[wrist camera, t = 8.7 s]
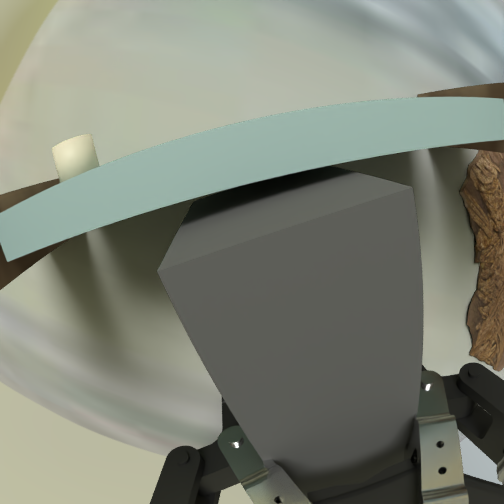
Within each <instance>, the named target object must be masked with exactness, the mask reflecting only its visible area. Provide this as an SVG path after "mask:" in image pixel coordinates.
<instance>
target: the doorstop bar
mask: <svg viewBox="0 0 504 504" xmlns="http://www.w3.org/2000/svg"><path fill="white" fill-rule="evenodd" d="M157 272H158V275H159V277H160V279H161V281H162V283H163V285H164V287H165V290H166V292H167V294H168V296H169V298H170V300H171V302H172V304H173V306H174V308H175V310H176V312H177V314H178V316H179V318H180V320H181V322H182V324H183V326H184V328H185V330H186V332H187V334H188V336H189V338H190V340H191V342H192V343H193V345H194V347H195V349H196V351H197V353H198V355H199V356H200V358H201V360H202V362H203V364H204V366H205V367H206V369H207V371H208V373H209V375H210V376H211V378H212V380H213V382H214V383H215V385H216V387H217V388H218V390H219V392H220V394H221V395H222V397H223V399H224V400H225V402H226V404H227V405H228V407H229V409H230V410H231V412H232V414H233V415H234V417H235V419H236V420H237V422H238V423H239V425H240V427H241V428H242V430H243V431H244V433H245V434H246V436H247V438H248V439H249V441H250V442H251V444H252V445H253V447H254V448H255V450H256V451H257V453H258V454H259V456H260V457H261V459H262V460H263V461H264V460H270V459H272V460H273V461H274V462H275V463H276V464H277V465H280V466H281V467H282V469H283V470H284V471H285V472H286V474H287V475H288V476H289V477H290V478H291V480H292V481H293V482H294V483H295V485H296V486H297V487H298V488H299V489H300V491H301V492H302V493H303V494H304V495H305V496H306V498H307V499H308V496H307V493H308V492H312V491H316V490H320V489H323V488H327V487H331V486H336V485H348V484H357V483H362V482H365V481H366V480H368V479H370V478H371V477H373V476H374V475H376V474H377V473H379V472H381V471H382V470H384V469H385V468H387V467H389V466H392V465H394V464H397V463H399V462H402V461H404V449H405V446H406V444H407V443H410V441H411V437H412V433H413V419H414V415H415V414H416V413H417V411H418V403H419V394H420V383H421V371H422V354H423V281H422V263H421V250H420V239H419V230H418V221H417V213H416V206H415V199H414V193H413V187H410V186H407V185H403V184H400V183H396V182H392V181H389V180H385V179H381V178H378V177H374V176H370V175H366V174H362V173H358V172H354V171H349V170H345V169H341V168H337V167H332V166H324V167H319V168H314V169H310V170H305V171H301V172H296V173H292V174H287V175H283V176H278V177H274V178H270V179H266V180H262V181H258V182H253V183H249V184H245V185H241V186H238V187H234V188H231V189H228V190H225V191H222V192H219V193H216V194H213V195H211V196H208V197H205V198H202V199H199V200H196V201H194V202H193V204H192V206H191V207H190V209H189V211H188V213H187V215H186V217H185V218H184V220H183V222H182V224H181V226H180V228H179V230H178V231H177V233H176V235H175V237H174V239H173V241H172V243H171V245H170V247H169V249H168V251H167V253H166V255H165V257H164V259H163V260H162V262H161V264H160V266H159V268H158V270H157Z"/></svg>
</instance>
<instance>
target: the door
mask: <svg viewBox="0 0 504 504" xmlns="http://www.w3.org/2000/svg"><path fill="white" fill-rule="evenodd" d="M495 140H504V100H503V99H499V98H482V97H416V98H397V99H384V100H372V101H362V102H353V103H345V104H337V105H329V106H322V107H316V108H310V109H303V110H298V111H292V112H287V113H281V114H276V115H271V116H266V117H261V118H257V119H252V120H248V121H243V122H239V123H235V124H231V125H227V126H223V127H219V128H215V129H211V130H207V131H204V132H200V133H197V134H193V135H190V136H186V137H183V138H179V139H176V140H173V141H170V142H167V143H163V144H160V145H157V146H154V147H151V148H148V149H145V150H142V151H139V152H136V153H134V154H131V155H128V156H125V157H123V158H120V159H117V160H115V161H112V162H109V163H107V164H104V165H102V166H99V163H98V159H97V155H96V151H95V147H94V143H93V139H92V135H91V134H85V135H80V136H77V137H74V138H71V139H68V140H66V141H63V142H61V143H59V144H58V145H56V146H54V147H53V148H52V152H53V157H54V161H55V165H56V169H57V172H58V176H59V180H60V183H59V184H57V185H55V186H53V187H51V188H48V189H46V190H44V191H42V192H40V193H38V194H36V195H34V196H32V197H30V198H28V199H26V200H24V201H22V202H20V203H18V204H16V205H14V206H13V207H11V208H9V209H7V210H5V211H3V212H2V213H0V243H1V246H2V249H3V252H4V254H5V257H6V260H7V262H9V261H11V260H14V259H16V258H19V257H21V256H24V255H26V254H29V253H31V252H34V251H36V250H39V249H42V248H44V247H47V246H49V245H52V244H55V243H57V242H60V241H63V240H65V239H68V238H71V237H74V236H77V235H79V234H82V233H85V232H88V231H91V230H94V229H97V228H99V227H102V226H105V225H108V224H111V223H114V222H117V221H120V220H124V219H127V218H130V217H133V216H136V215H139V214H142V213H146V212H149V211H152V210H155V209H159V208H162V207H165V206H169V205H172V204H175V203H179V202H182V201H186V200H189V199H193V198H196V197H200V196H204V195H207V194H211V193H215V192H218V191H222V190H226V189H230V188H234V187H238V186H241V185H245V184H249V183H253V182H258V181H262V180H266V179H270V178H274V177H278V176H283V175H287V174H292V173H296V172H301V171H305V170H310V169H314V168H319V167H324V166H329V165H334V164H339V163H344V162H349V161H354V160H360V159H365V158H371V157H376V156H382V155H388V154H394V153H400V152H407V151H413V150H420V149H427V148H434V147H442V146H449V145H457V144H466V143H475V142H485V141H495Z"/></svg>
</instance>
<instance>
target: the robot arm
mask: <svg viewBox="0 0 504 504" xmlns="http://www.w3.org/2000/svg"><path fill="white" fill-rule="evenodd" d="M480 406H481V407H482V408H481V407H480ZM485 410H486V411H487V412H488V413H487V412H486V411H485ZM222 423H223V429H222V433H221V434H220V435H219V437H218V439H217V440H216V441H215V442H214V443H212V444H210V445H208V446H206V447H203V448H201V449H198V450H196V449H195V448H193V447H191V446H180V447H177V448H175V449H173V450H172V451H171V452H170V453H169V454H168V456H167V458H166V461H165V463H164V466H163V469H162V471H161V474H160V477H159V480H158V482H157V485H156V488H155V491H154V493H153V496H152V499H151V502H150V504H218V501H219V497H220V493H221V490H223V489H226V488H228V487H230V486H233V485H236V484H238V483H241V485H242V486H243V488H244V489H245V491H246V492H247V494H248V495H249V497H250V499H251V500H252V501H253V503H254V504H504V380H502V379H501V378H500V377H498V376H497V375H495V374H494V373H493V372H491V371H490V370H488V369H487V368H486V367H484V366H483V365H481V364H479V363H468V364H465V365H464V366H463V367H462V368H461V369H460V372H459V374H455V375H450V376H440V375H439V374H438V373H436V372H434V371H429V370H426V369H425V367H424V366H423V365H422V371H421V383H420V394H419V403H418V411H417V413H416V414H415V415H414V419H413V433H412V437H411V441H410V443H407V444H406V446H405V449H404V461H402V462H399V463H397V464H394V465H392V466H389V467H387V468H385V469H384V470H382V471H381V472H379V473H377V474H376V475H374V476H373V477H371V478H370V479H368V480H366V481H365V482H362V483H357V484H348V485H336V486H331V487H327V488H323V489H320V490H316V491H312V492H308V493H307V496H308V499H307V498H306V496H305V495H304V494H303V493H302V492H301V491H300V489H299V488H298V487H297V486H296V485H295V483H294V482H293V481H292V480H291V478H290V477H289V476H288V475H287V474H286V472H285V471H284V470H283V469H282V467H281V466H280V465H277V464H276V463H275V462H274V461H273V460H272V459H270V460H264V461H263V460H262V459H261V457H260V456H259V454H258V453H257V451H256V450H255V448H254V447H253V445H252V444H251V442H250V441H249V439H248V438H247V436H246V434H245V433H244V431H243V430H242V428H241V427H240V425H239V423H238V422H237V420H236V419H235V417H234V415H233V414H232V412H231V410H230V409H229V407H228V405H227V404H226V402H225V400H224V399H223V397H222ZM458 429H459V430H460V431H461V432H462V433H463V434H464V435H465V436H466V437H467V438H468V439H470V440H471V441H472V442H473V443H474V444H475V445H476V446H477V447H478V448H479V449H480V450H482V452H484V453H485V454H486V455H487V456H488V457H489V458H490V459H491V460H492V461H493V462H494V463H495V464H497V474H498V480H499V481H501V482H502V484H503V485H500V484H496V483H493V482H489V481H486V480H483V479H479V478H476V477H473V476H470V475H466V474H464V473H463V466H462V457H461V449H460V442H459V435H458Z"/></svg>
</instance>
